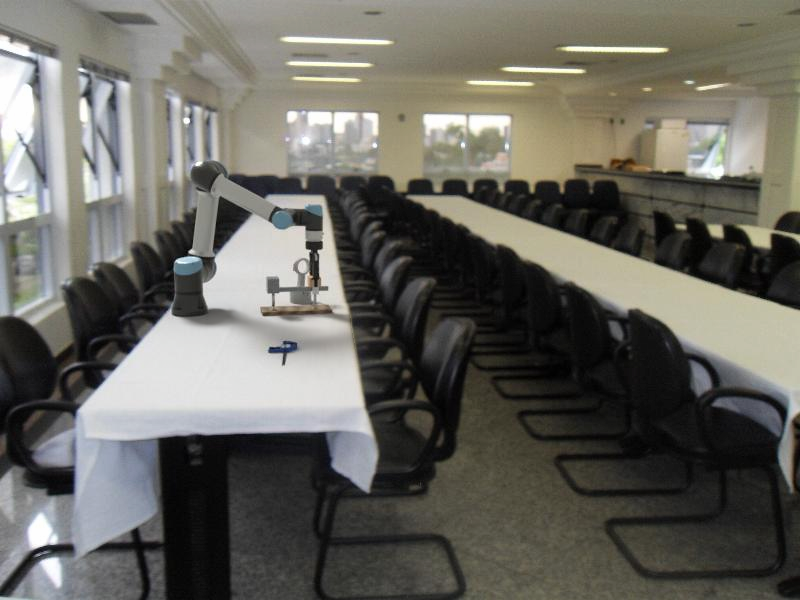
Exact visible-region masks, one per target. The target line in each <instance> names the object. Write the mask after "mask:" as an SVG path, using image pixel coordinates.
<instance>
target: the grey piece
mask: <svg viewBox="0 0 800 600" xmlns="http://www.w3.org/2000/svg"><path fill="white" fill-rule="evenodd" d="M265 279H266V280H265V284H266V285H265V288H266V289H265V290H266V293H267V294H268V295H271V306H273V310H274V306H276V297H275V296H276V294H280V293H290V292H298V291H311V292H312V287H309V286H308V285H305V287H297V286H280V278H279V277H278V276H277V275H275V276H266V277H265ZM324 291H325V292H329V285H321V287H319V292H324Z"/></svg>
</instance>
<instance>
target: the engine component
mask: <svg viewBox="0 0 800 600" xmlns="http://www.w3.org/2000/svg"><path fill="white" fill-rule="evenodd" d="M302 261H303V262H305V263H306V268H305V270H304V271H302V272H301V271H300V270H299V263H301V262H302ZM292 266H293V267H292V271H293V272H295V273H296V274H297V284H296V285H297V286H296V287H305V286H306V275H307V274H308V273H309V259H308V258H305V257H298V258H297V259H296V260H295V261H294V263H293V265H292ZM289 303H290V304H297V305H303V304H304V305H305V304H310V303H312V291H298V292H289Z"/></svg>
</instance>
